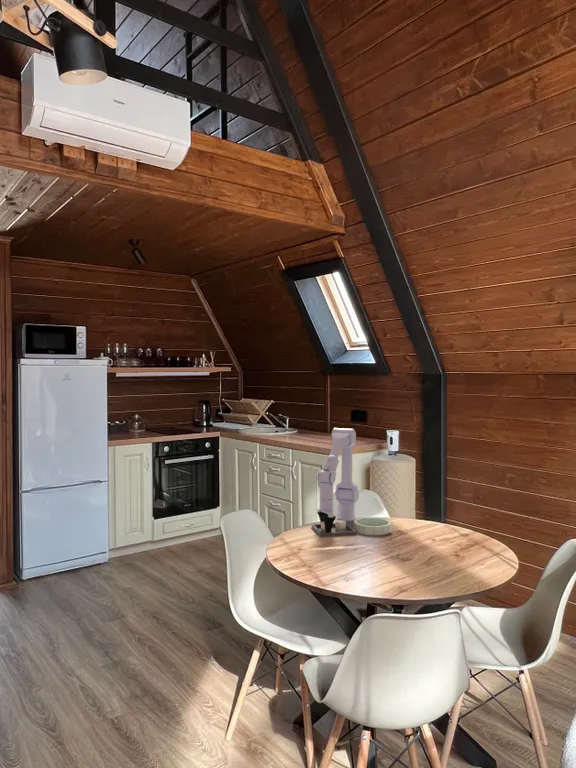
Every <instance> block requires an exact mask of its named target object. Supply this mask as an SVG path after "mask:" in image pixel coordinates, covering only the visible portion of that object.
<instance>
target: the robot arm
mask: <svg viewBox="0 0 576 768" xmlns="http://www.w3.org/2000/svg"><path fill="white" fill-rule="evenodd" d="M331 441H332V444H331V445H332V446H331V449H330V453H329V455H327V456H326V457H325V460H324V463H323V467H322V468H321V470H319V471H318V472H317V483H318V488H319V507H318V508H316V511H317V512H316V514H317V516H318V517H319V522H320V523H321V522H322V521H324V524H325V531H326V533H327V532H331V530H332V525H333V523H335V521H336V520H344V521H346V522H354V520H355V519H356V518H355V516H356V515H355V514H356V513H355V510H356V505H355V504H356V503H357V502H358V501H359V497H360V496H359V495H360V491H359V486H358V485H357V484H356V483H355V482H354V481H353V447H355V446H356V443H357V432H356V430H355V429H354V428H343V427H342V428H339V427H334V428H333V429H332V430H331ZM340 454H341V481H340V482H339V483H337V485H336V487H335V493H334V484H335V481H336V477H337V472H336V471H337V468H338V466H339V463H340V460H339V456H340ZM334 496H335V497H334ZM334 498H335V500H336V501H337V506H336V507H337V509H336V510H337V513H336V515H337V516H336V515H334V511H335V510H334Z"/></svg>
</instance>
